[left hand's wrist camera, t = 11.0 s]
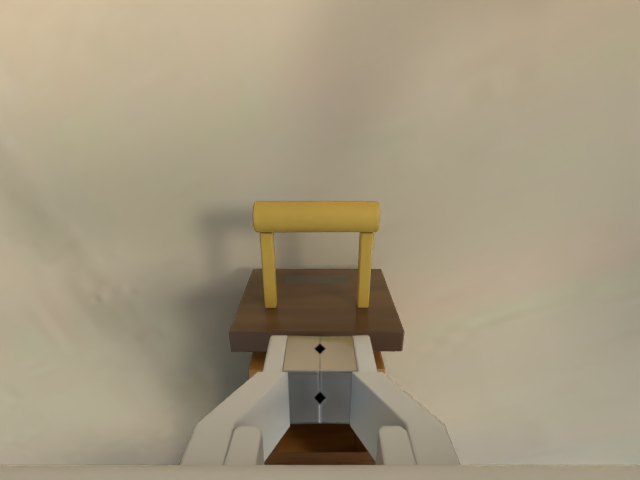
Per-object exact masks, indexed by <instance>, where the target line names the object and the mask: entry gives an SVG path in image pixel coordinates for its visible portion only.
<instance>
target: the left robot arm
mask: <svg viewBox="0 0 640 480" xmlns="http://www.w3.org/2000/svg"><path fill="white" fill-rule="evenodd" d="M314 423H325V424H350V426H351V428H352V429H353V431H354V432H355V433H356V435H357V436H358V438H359V439H360V440H361V442H362V443H363V445H364V446H365V447H366V449H367V450H368V452H369V453H370V455H371V456H372V457H373V459H374V460H375V462H376V464H375V465H265V464H264V462H265V460H266V459H267V458H268V456H269V455H270V453H271V452H272V451H273V449H274V448H275V446H276V445H277V444H278V442H279V441H280V439H281V438H282V437H283V435H284V434H285V432H286V431H287V430H288V428H289V427H290V424H314ZM0 480H640V465H460V462H459V460H458V457H457V455H456V452H455V450H454V447H453V445H452V442H451V440H450V437H449V435H448V432H447V430H446V427H445V425H444V424H443V423H442V422H441V421H440V420H438V419H437V418H436V417H435V416H434V415H433V414H431V413H430V412H429V411H428V410H427V409H426V408H424V407H423V406H422V405H421V404H420V403H418V402H417V401H416V400H415V399H414V398H413V397H411V396H410V395H409V394H408V393H407V392H406V391H404V390H403V389H402V388H401V387H400V386H399V385H397V384H396V383H395V382H394V381H393V380H391V379H390V378H389V377H388V376H387V375H386V374H384V373H383V372H377V367H376V363H375V359H374V354H373V350H372V345H371V341H370V337H369V336H368V335H356V336H293V335H288V336H287V335H272V336H271V337H270V341H269V345H268V350H267V354H266V358H265V363H264V367H263V372H257V373H256V374H254V375H253V376H252V377H251V378H250V379H249V380H247V381H246V382H245V383H244V384H243V385H241V386H240V387H239V388H238V389H237V390H236V391H234V392H233V393H232V394H231V395H230V396H228V397H227V398H226V399H225V400H224V401H223V402H221V403H220V404H219V405H218V406H217V407H215V408H214V409H213V410H212V411H211V412H210V413H208V414H207V415H206V416H205V417H204V418H202V419H201V420H200V421H199V422H198V423H197V424H196V425H195V427H194V430H193V432H192V435H191V437H190V440H189V442H188V445H187V447H186V450H185V452H184V455H183V457H182V460H181V462H180V465H0Z"/></svg>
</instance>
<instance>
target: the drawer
mask: <svg viewBox="0 0 640 480" xmlns="http://www.w3.org/2000/svg"><path fill="white" fill-rule="evenodd" d="M379 225H380V207H379V203H378V202H377V201H257V202H255V203H254V206H253V226H254V230H255V232H261V233H260V243H261V257H262V269H254V270H253V271H252V274H251V276H250V279H249V282H248V284H247V287H246V289H245V292H244V295H243V297H242V300H241V302H240V305H239V308H238V310H237V313H236V315H235V318H234V321H233V323H232V326H231V328H230V331H229V337H230V346H231V351H232V352H253V354H252V358H251V362H250V366H249V370H248V372H249V379H250V378H251V377H252V376H253V375H254V374H256V373H257V372H263V367H264V363H265V358H266V354H267V350H268V345H269V341H270V337H271V336H272V335H287V336H288V335H293V336H356V335H368V336H369V337H370V341H371V345H372V350H373V354H374V359H375V363H376V367H377V372H383V373H384V374H385V367H384V363H383V359H382V355H381V351H402V349H403V340H404V330H403V327H402V324H401V322H400V319H399V316H398V314H397V311H396V308H395V305H394V303H393V300H392V297H391V295H390V292H389V289H388V287H387V284H386V281H385V279H384V276H383V273H382V271H381V269H371V261H372V245H373V232H377V231H378V229H379ZM273 232H360V237H359V259H358V269H275V251H274V233H273ZM272 452H368V450H367V449H366V447H365V446H364V445H363V443H362V442H361V440H360V439H359V438H358V436H357V435H356V433H355V432H354V431H353V429H352V428H351V426H350V424H325V423H314V424H290V427H289V428H288V430H287V431H286V432H285V434H284V435H283V437H282V438H281V439H280V441H279V442H278V444H277V445H276V446H275V448H274V449H273V451H272Z"/></svg>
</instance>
